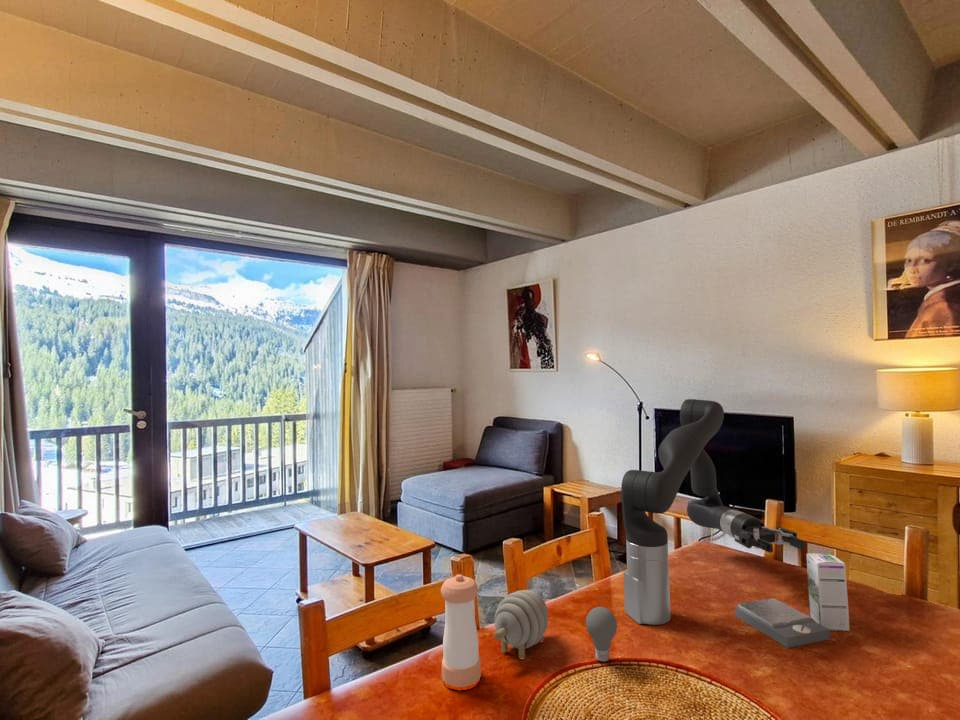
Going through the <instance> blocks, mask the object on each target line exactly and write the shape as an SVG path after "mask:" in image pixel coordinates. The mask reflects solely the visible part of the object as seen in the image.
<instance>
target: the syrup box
mask: <svg viewBox="0 0 960 720" xmlns="http://www.w3.org/2000/svg"><path fill="white" fill-rule="evenodd" d="M806 570H807V571H806V572H807V586H808V587H807V588H808V603H809V604H808V605H809V607H808V608H809V617H811V620H812V621H814V622H816V623H818V624H820V625H822V626H824V627H826V628H828V629H830V631H838V630H839V631H840V632H850V614H849V599H848V598H849V597H848V586H847V572H846V571H847V570H846V563H845V562H843V561H842V560H841V559H839V558H838V557H836V556H835V555H834V554H830V553H822V552H821V553H819V552H816V553H814V552H813V553H806ZM841 630H842V631H841ZM839 631H838V632H839Z"/></svg>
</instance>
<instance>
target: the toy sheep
mask: <svg viewBox="0 0 960 720" xmlns="http://www.w3.org/2000/svg"><path fill="white" fill-rule="evenodd" d="M548 611H549V610H548V606H547V604H546V600H545V599H543V597H542V596H540V594H539V593H537V592H536V591H533V590H531V589H523V590H517V591H514V592H511V593H509V594H508V595H506V596H505V597H504V598H503V599H502V600H501V601H500V602H499V604H498V605H497V609H496V611H495V614H494V626H495V630H496V631H495V632H494V634H493V636H494V639H495V640H497V641H500V640H501V641H500V643H501V644H500V645H501V652H502V651H503V652H506V651H508V652H509V650H508V649H509V648H508V647H509V646H508V645H510V646H511V647H514V648H516V649H517V650H518V658H519V657H520V658H524V659H526V649H529V648H531V647H533V646H535V645H537V644H539V643H540V642H539V641H543V642H544V634H545V633H546V631H547V629H548V623H549V619H548V617H549V612H548ZM520 658H519V659H520Z"/></svg>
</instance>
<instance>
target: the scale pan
mask: <svg viewBox="0 0 960 720" xmlns="http://www.w3.org/2000/svg"><path fill="white" fill-rule="evenodd" d="M737 607H738V608H740V609H742V610H743V611H745V612H747V613H748V614H750V615H752V616H753V617H755V618H757V619H759V620H760V621H762V622H764V623H765V624H767V625H769V626H770V627H772V628H775V627H780V626H786V625H791V624H796V623H802V622H807V621H811V620H812V618H811V617H810V615H808V614H805V613H803V612H802V611H800V610H798V609H796V608H794V607H792V606H790V605H788V604H786V603H784V602H783V601H780V600H778V599H777V598H775V597H772V598H768V599H767V598H766V599H761V600H754V601H748V602H743V603H738V604H737Z"/></svg>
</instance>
